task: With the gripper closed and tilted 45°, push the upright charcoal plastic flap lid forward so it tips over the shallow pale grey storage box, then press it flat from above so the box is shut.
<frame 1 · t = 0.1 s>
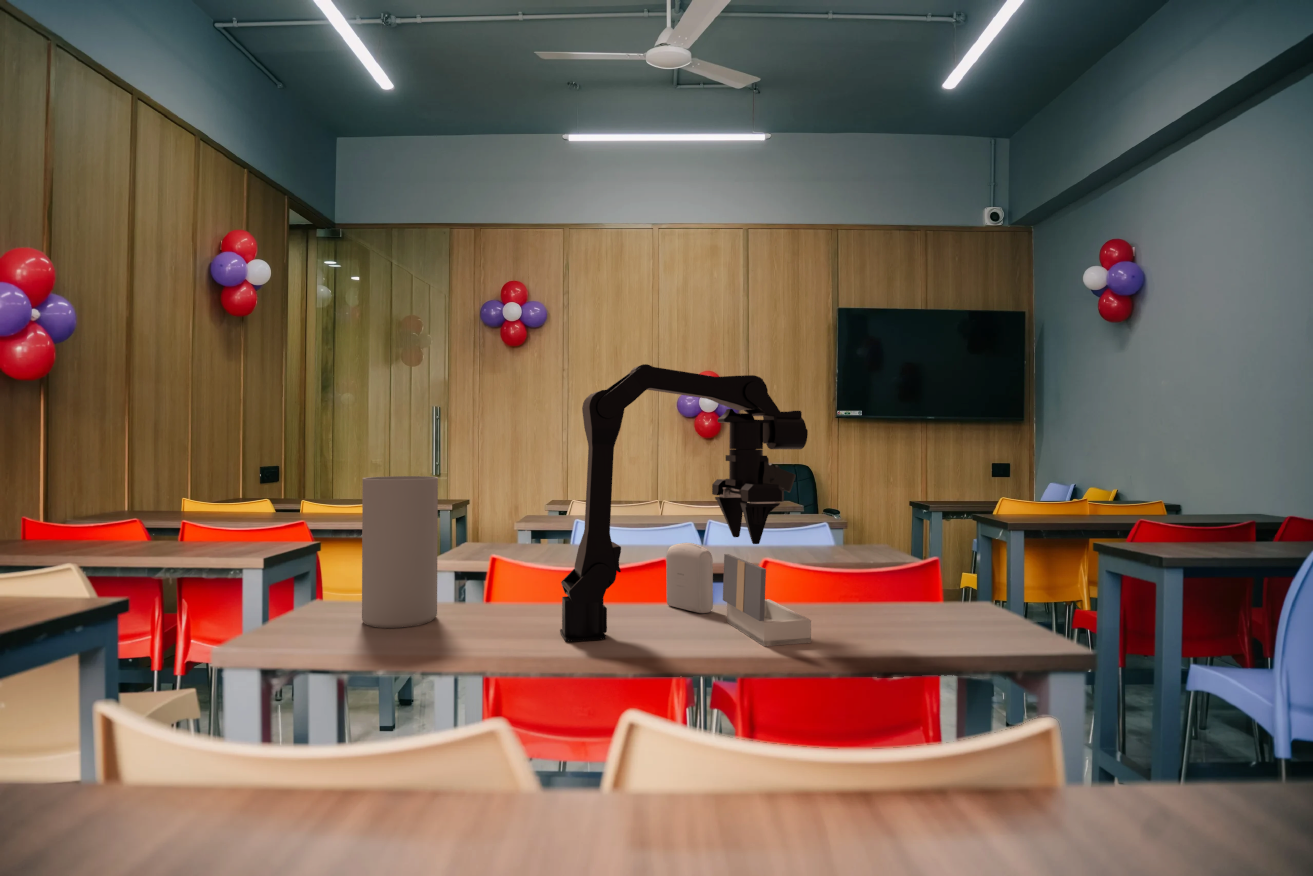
hand: (745, 540, 130), 15 cm above the table, tool pointing down, fingers open, 9 cm apart
flap lid: (742, 585, 125), point 8 cm above the table, hinge at 88.0°
storage box: (766, 632, 126), on the table
cylinder vase: (400, 621, 133), on the table
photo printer: (689, 610, 143), on the table
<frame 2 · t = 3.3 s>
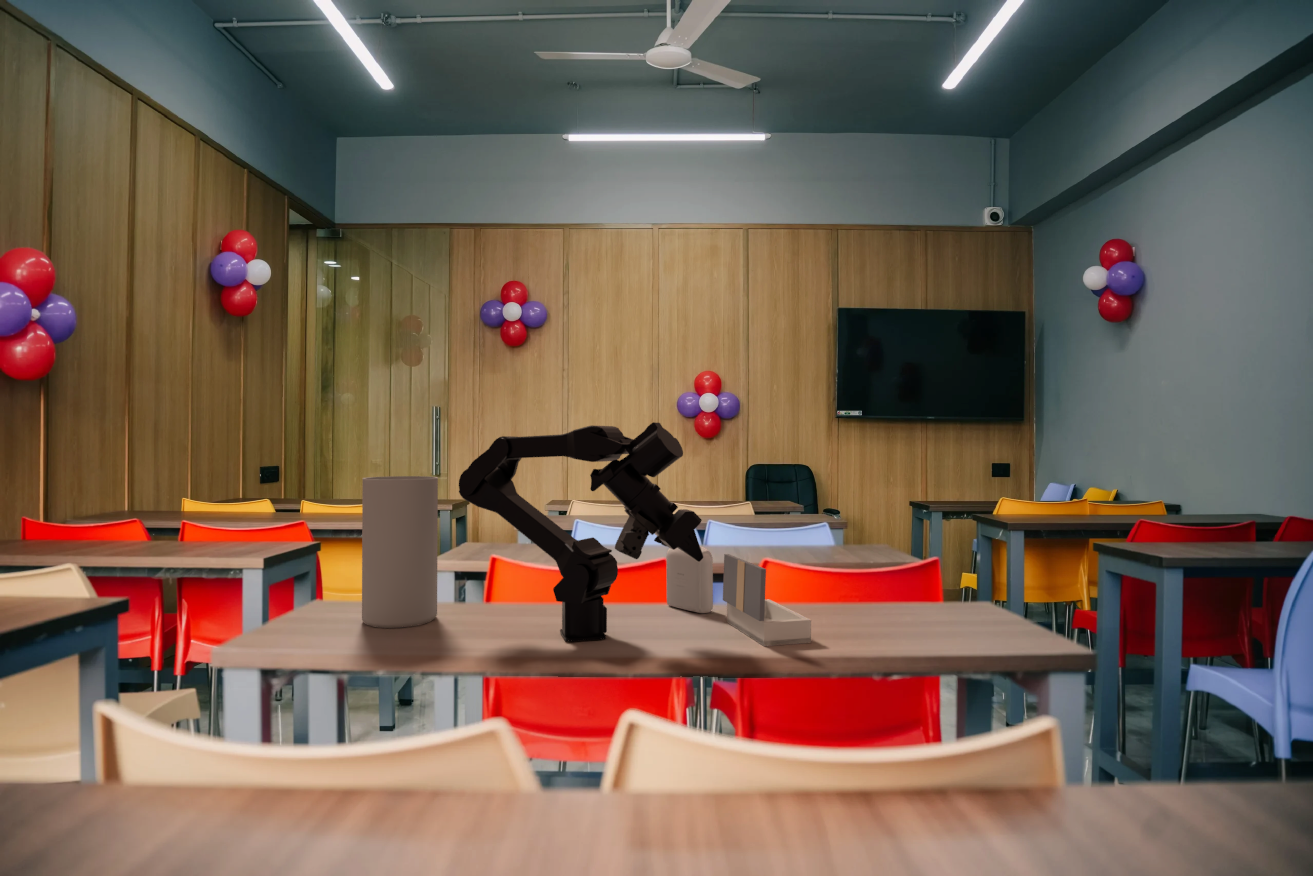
hand: (700, 559, 123), 12 cm above the table, tool tilted 45°, fingers closed
nothing on the table moved.
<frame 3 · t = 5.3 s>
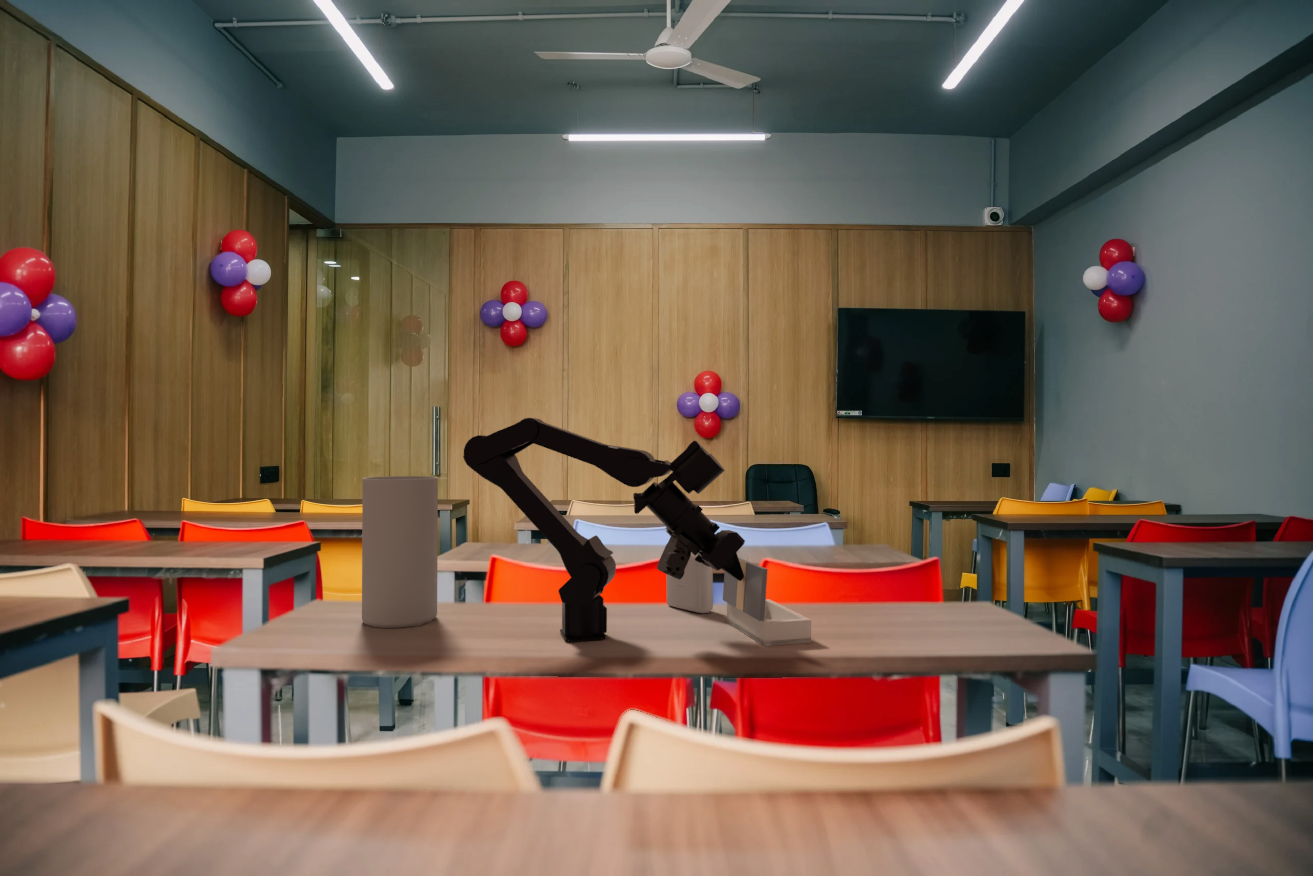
hand: (741, 578, 124), 9 cm above the table, tool tilted 45°, fingers closed, pressing on flap lid
flap lid: (743, 585, 125), point 8 cm above the table, hinge at 86.1°, touching gripper
everything else where it was.
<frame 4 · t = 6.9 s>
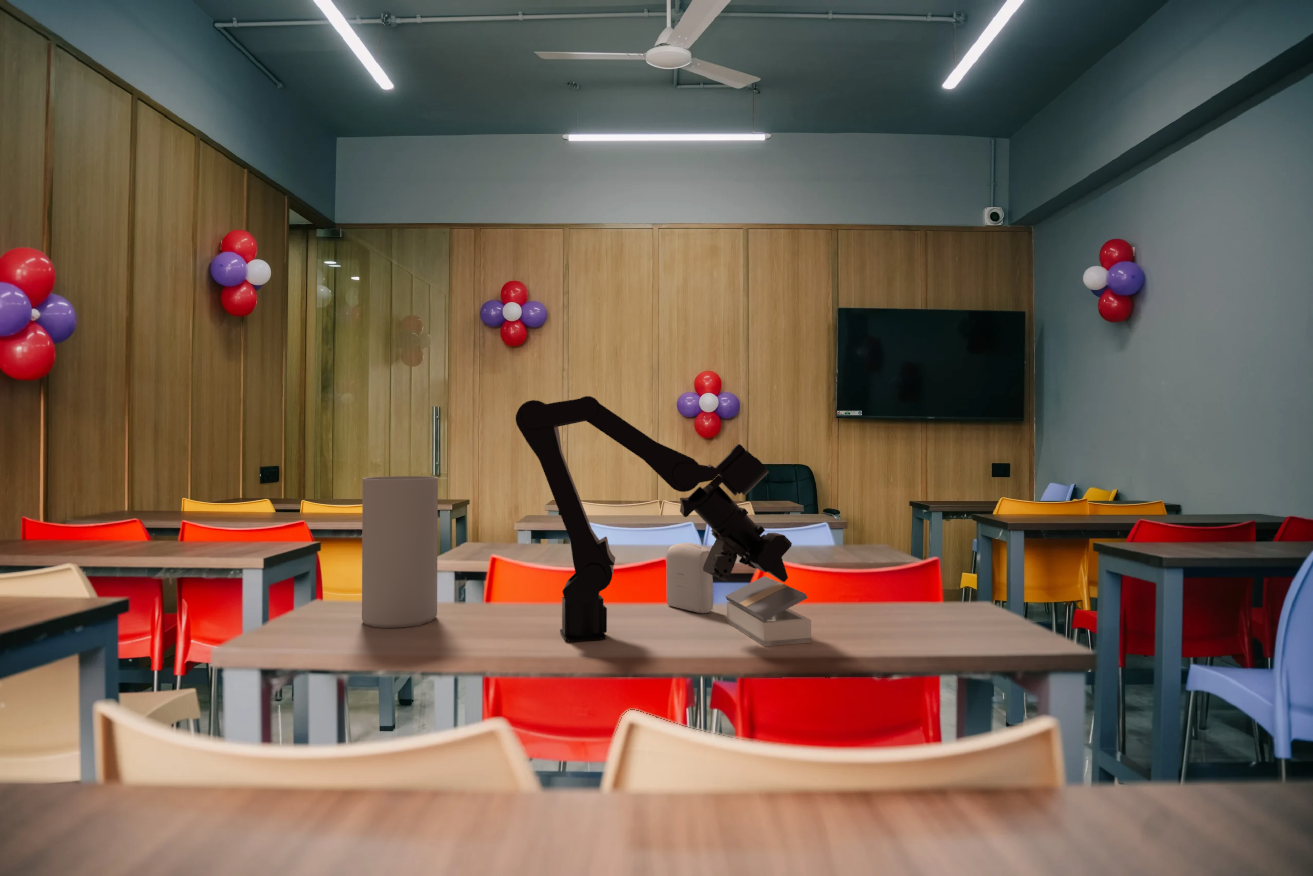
hand: (785, 579, 127), 8 cm above the table, tool tilted 45°, fingers closed
flap lid: (764, 596, 126), point 6 cm above the table, hinge at 23.0°
everything else where it was.
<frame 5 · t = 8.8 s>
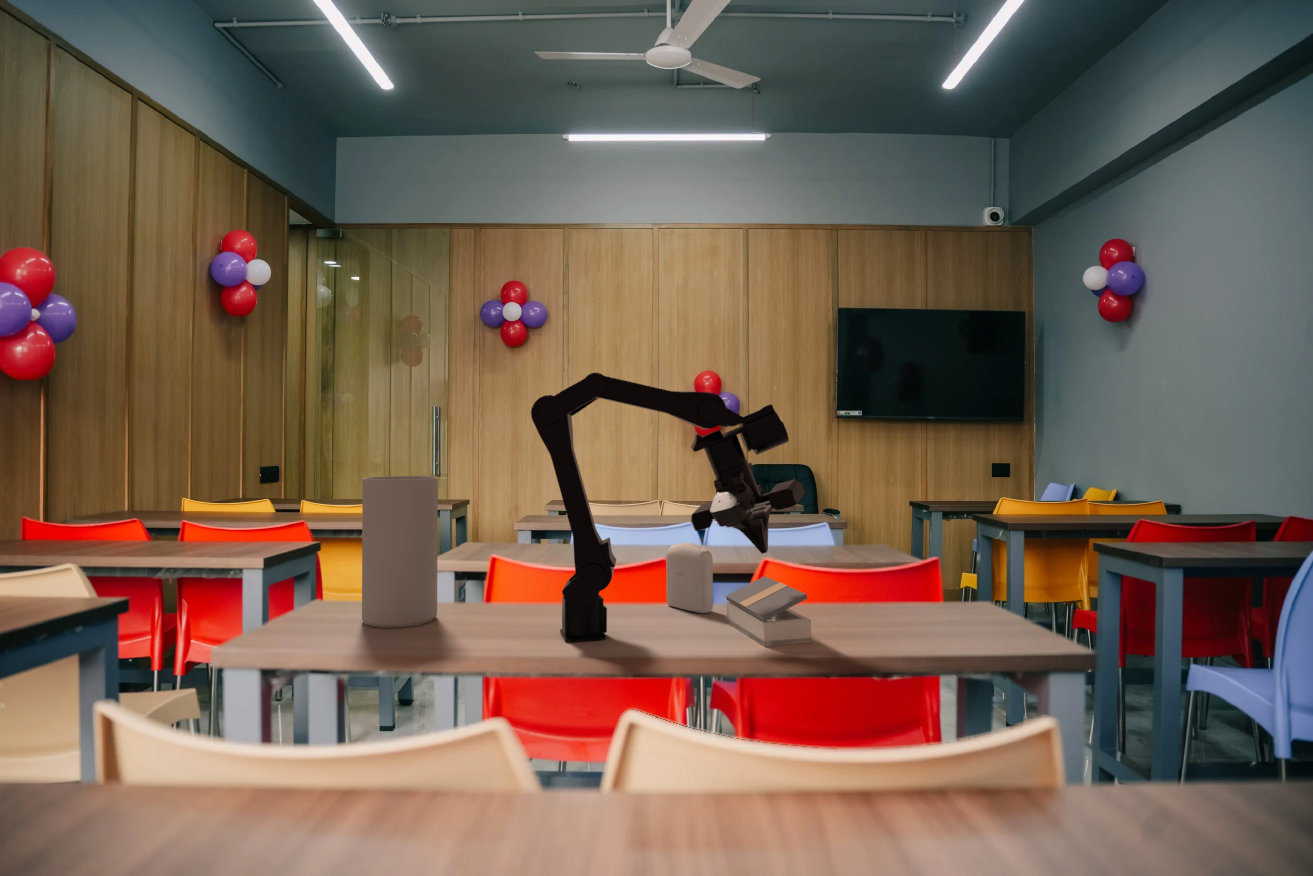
hand: (765, 552, 125), 13 cm above the table, tool tilted 25°, fingers closed
nothing on the table moved.
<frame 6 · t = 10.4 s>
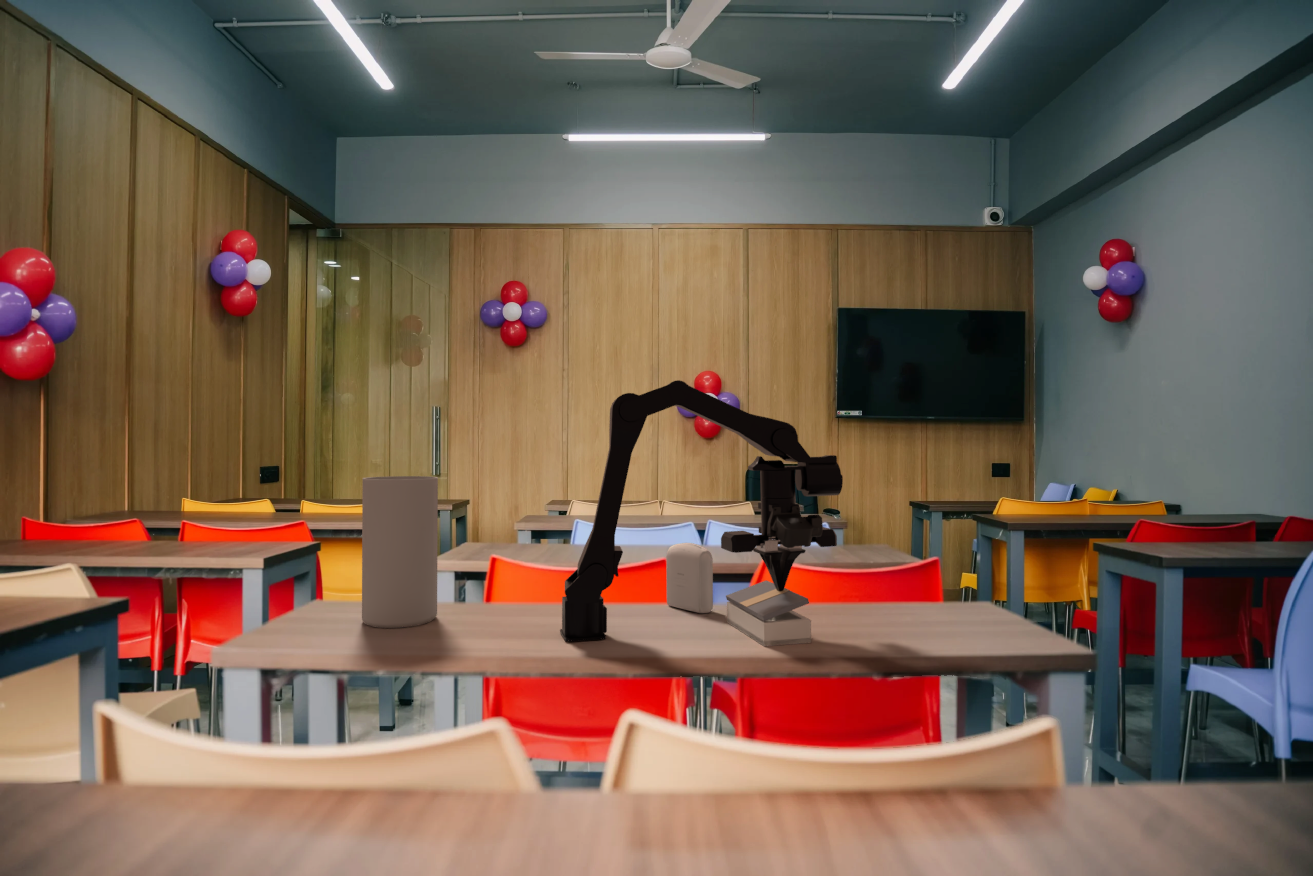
hand: (779, 590, 127), 7 cm above the table, tool pointing down, fingers closed, pressing on flap lid
flap lid: (765, 599, 126), point 5 cm above the table, hinge at 16.8°, touching gripper
everything else where it was.
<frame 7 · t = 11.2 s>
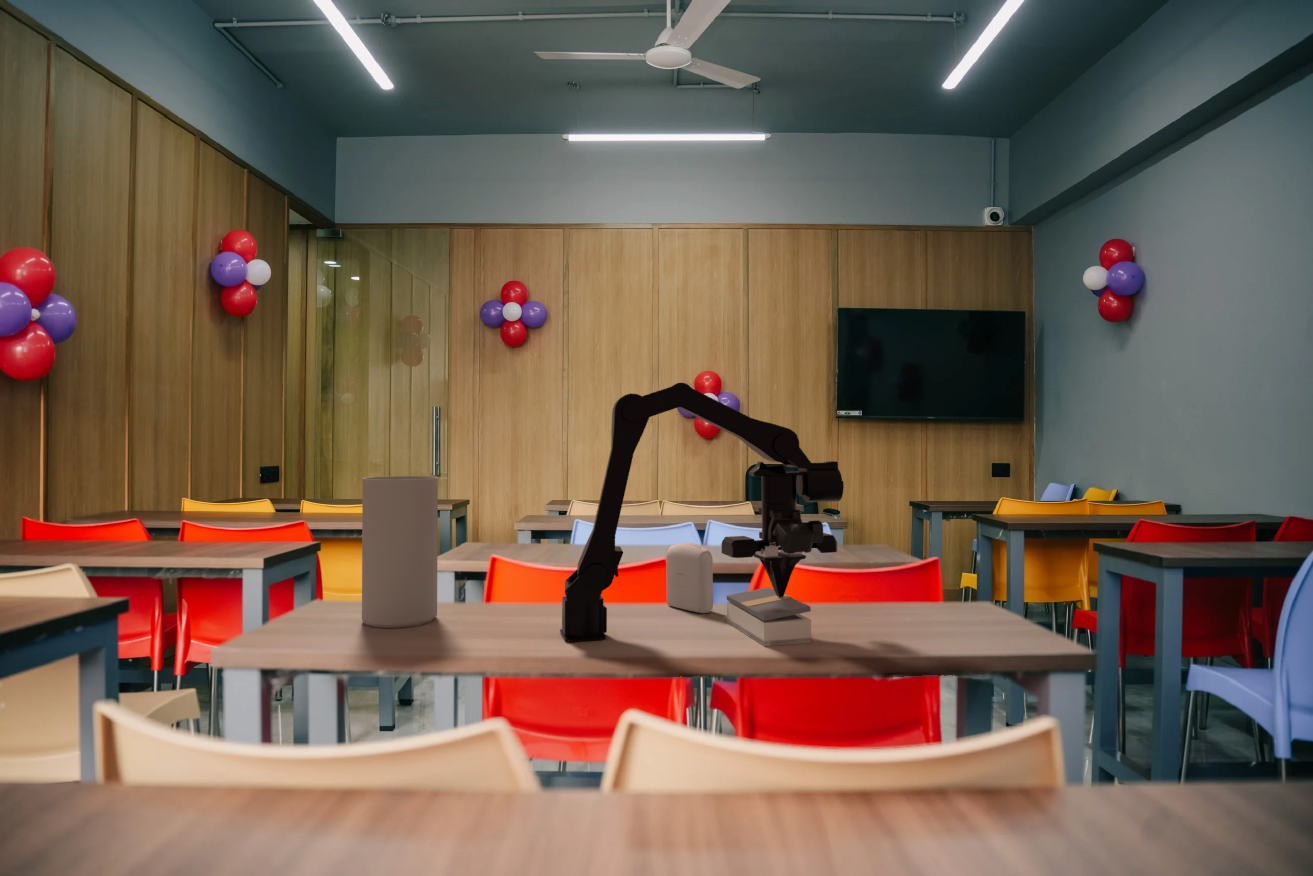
hand: (780, 596, 127), 6 cm above the table, tool pointing down, fingers closed
flap lid: (766, 602, 126), point 5 cm above the table, hinge at 7.6°
everything else where it was.
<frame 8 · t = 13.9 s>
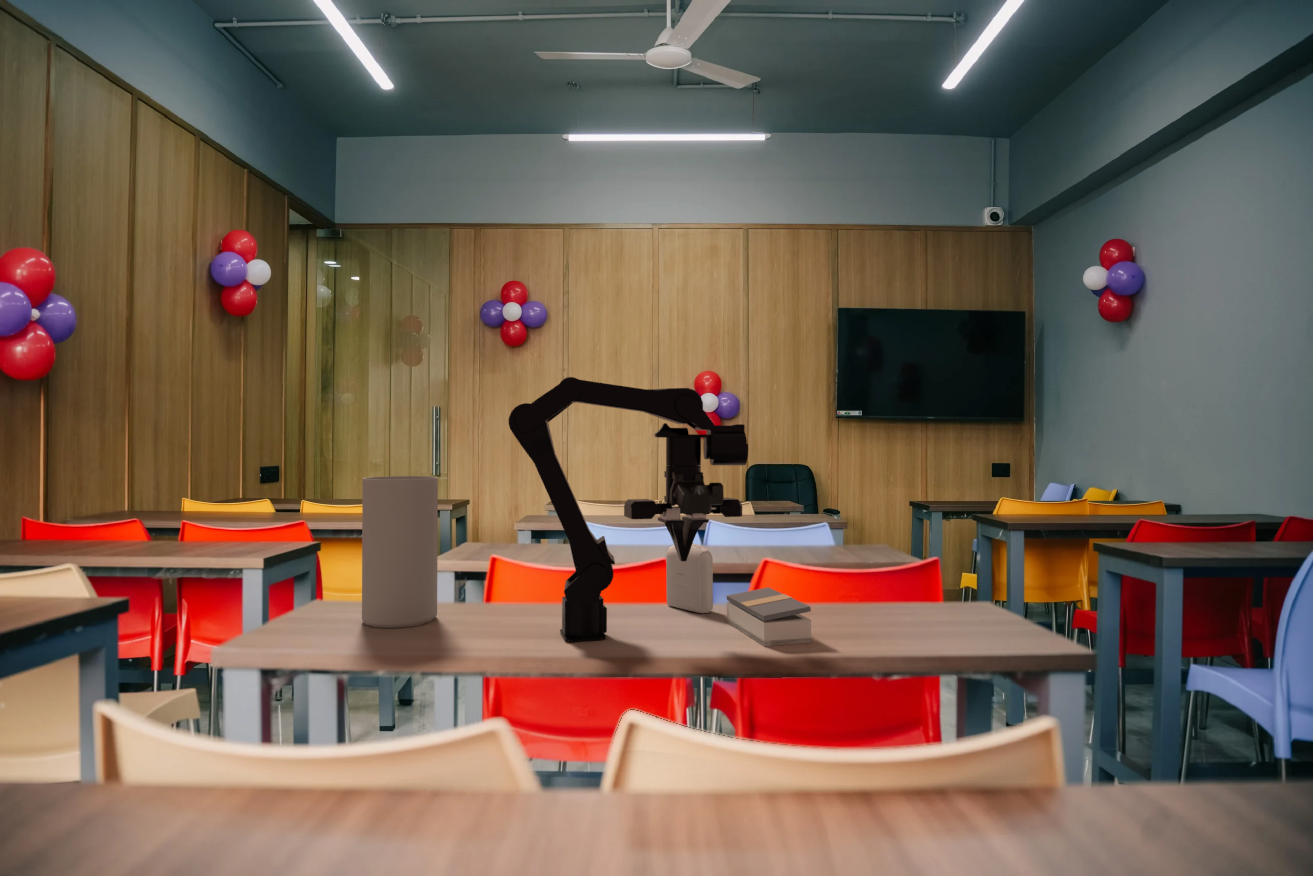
hand: (683, 561, 124), 12 cm above the table, tool pointing down, fingers closed
nothing on the table moved.
at the end: flap lid at +7° (first picture: +88°); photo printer moved 0.3 cm from its start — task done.
